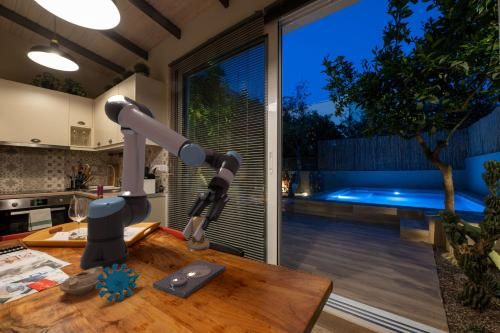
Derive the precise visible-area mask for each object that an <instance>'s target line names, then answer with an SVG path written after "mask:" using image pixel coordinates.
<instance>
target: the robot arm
mask: <svg viewBox="0 0 500 333" xmlns="http://www.w3.org/2000/svg"><path fill="white" fill-rule="evenodd" d="M104 112H105V115H106V117H107V118H108V119H109V120H110V121H111V122H113V123H115V124H117V125H119V126H120V133H121V134H122V135H123V153H122V154H123V155H122V173H121V174H122V177H121V178H122V181H121V190H120V192H118V193H117V194H116V196H111V197H110V196H109V197H103V198H98V199H95V200H93V201H91V202H90V203H89V205H88V209H87V214H86V215H87V227H86V228H87V230H86V231H87V234H86V236H87V237H86V238H87V239H86V244H85V247H84V249H83V252H82V255H81V257H80V260H79V262H80V263H79V267H80V268H81V269H83V270H88V269H91V268H95V267H103V269H104V268H106V267H109V268H112V266H113V264H118V265H120V264H121V265H122V263H123V264H124V262H126V261H127V260H129V254H130V253H129V249H128V246H127V243H126V240H125V228H128V227H131V226H135V225H138V224H141V223H142V222H144V221H146V220H147V219H148V218H149V217H150V215H151V212H152V203H151V202H150V200H149V199H148V194H147V193H146V191H145V190H144V185H145V166H146V163H145V161H146V142H147V141H146V140H147V139H148V140H149V141H151V142H152V143H154V144H156V145H157V146H159V147H161V148H162V149H164V150H166V151H167V152H169V153H171V154H173V155H174V156H176V157H178V158H179V159H181V161H182V162H183V163H184V164H185V165H186V166H190V167H193V168H194V167H197V168H198V167H200V168H206V169H210V170H212V171H215V173H214V174H213V176H212V178H211V179H210V181H209V182H208V184H207V189H206V190H205V191H204V192H203V193H201V192H197V193H196V197H195V199H194V201H193V203H192V204H191V206H190V208H189V210H188V212H187V213H186V214H187V216H188V217H189V219H188V220H187V222H186V223H185V228H184V229H183V231H182V233H181V235H182V236H183V237H184V239H186V240H188V239H189V238H190V235H192V217H193V216H202V215H201V214H202V213H203V212H204V211H205V209H207V207H208V210H207V213H206V215H204V216H205V218H203V219H202V221H201V222H200V224H199V226H198V228H197V230H196V232H195V233H194V235H193V236H194V237H195V239H196V240H197V241H199V240H200V238H201V236H202V234H203V232H204V231H205V232H206V231H207V230H208V228H209V226H210V224H211V223H212V222H217V221H218V220H219V218H220V216H221V214H222V212H223V210H224V209H225V206H226V205H227V203H229V201H230V200H231V199H230V197H229V195H228V191H229V190H230V186H232V183H233V181H234V180H235V178H236V176H237V174H238V172H239V170H240V167H241V165H242V163H243V157H242V155H241V154H240V153H239V152H238V151H235V150H229V151H228V152H227V153H221V152H218V151H216V150H215V151H214V150H213V149H209V148H206V147H203V146H201V145H199V144H197V143H195V142H194V141H192V140H190V139H189V138H187V137H185V136H183V135H182V134H180V133H178V132H176V131H175V130H173V129H172V128H170V127H169V126H166V125H165V124H163V123H161V122H159V121H158V120H156V116H155V113H154V112H153V110H152V109H150V108H149V107H148V106H146V105H145V104H142V103H140V102H137V100H134V99H132V98H130V97H128V96H125V95H119V94H118V95H114V96H113V95H112V96H111V97H109V98H108V99H107V100H106V101H105V104H104Z"/></svg>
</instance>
